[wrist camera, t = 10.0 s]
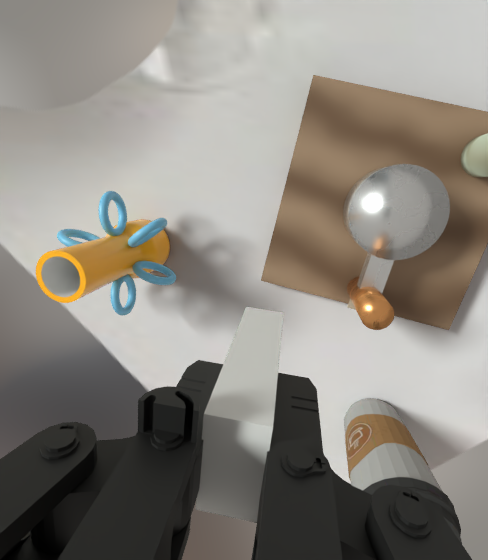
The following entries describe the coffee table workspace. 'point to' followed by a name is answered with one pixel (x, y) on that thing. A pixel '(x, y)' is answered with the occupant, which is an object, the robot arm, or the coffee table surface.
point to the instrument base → (362, 160)
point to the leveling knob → (391, 229)
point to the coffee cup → (390, 456)
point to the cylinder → (106, 258)
